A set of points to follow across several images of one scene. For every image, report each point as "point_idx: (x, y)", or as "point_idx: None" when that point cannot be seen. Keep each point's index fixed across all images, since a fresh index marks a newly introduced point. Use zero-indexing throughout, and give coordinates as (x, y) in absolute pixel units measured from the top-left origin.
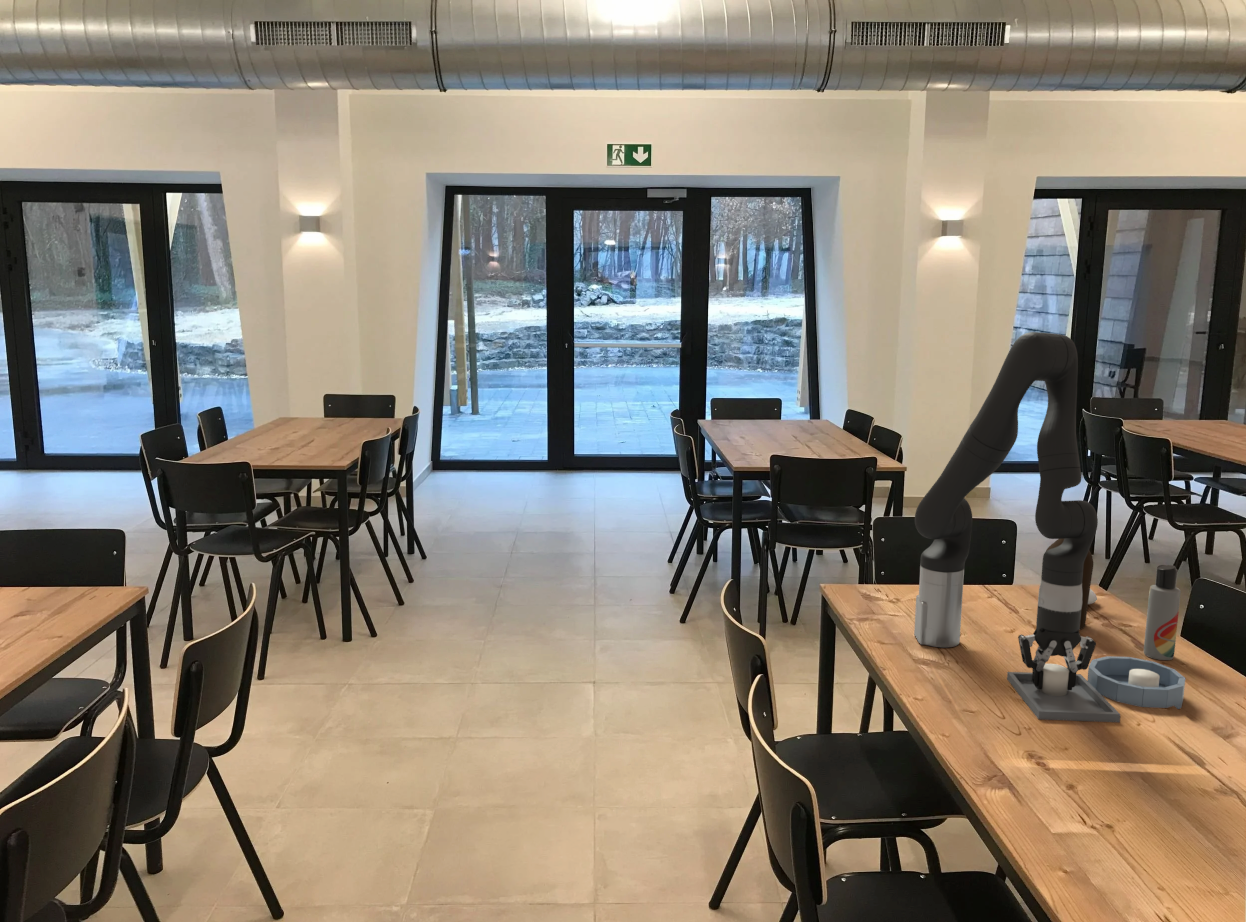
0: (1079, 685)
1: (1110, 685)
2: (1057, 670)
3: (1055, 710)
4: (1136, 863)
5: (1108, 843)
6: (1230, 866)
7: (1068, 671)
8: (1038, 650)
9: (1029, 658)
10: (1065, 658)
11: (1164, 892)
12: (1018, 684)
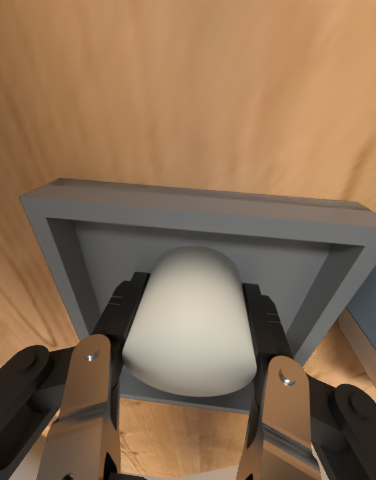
0: (328, 248)
1: (373, 375)
2: (192, 378)
3: (136, 396)
4: (138, 464)
5: (127, 457)
6: (197, 472)
7: (238, 388)
8: (50, 477)
9: (18, 443)
10: (252, 445)
11: (144, 471)
12: (67, 304)
